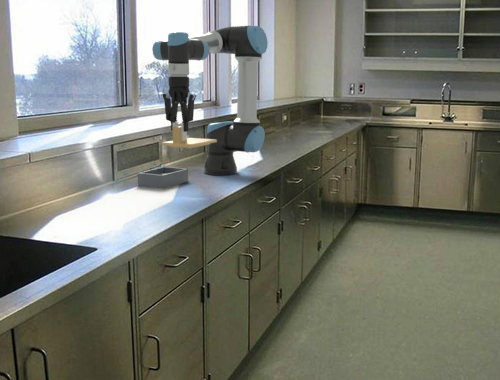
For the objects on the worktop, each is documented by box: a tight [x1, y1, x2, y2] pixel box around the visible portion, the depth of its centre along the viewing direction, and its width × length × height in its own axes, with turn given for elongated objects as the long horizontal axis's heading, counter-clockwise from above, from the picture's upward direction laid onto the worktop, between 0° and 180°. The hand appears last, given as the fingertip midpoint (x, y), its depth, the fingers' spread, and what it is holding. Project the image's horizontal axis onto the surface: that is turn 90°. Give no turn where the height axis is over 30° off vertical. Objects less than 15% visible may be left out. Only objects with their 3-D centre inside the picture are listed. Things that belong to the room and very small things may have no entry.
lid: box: [161, 125, 217, 149], centre depth 224 cm, size 19×13×8 cm
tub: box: [137, 166, 189, 190], centre depth 237 cm, size 18×12×6 cm, turn 153°
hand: (179, 139), depth 218 cm, fingers closed on lid, 3 cm apart
